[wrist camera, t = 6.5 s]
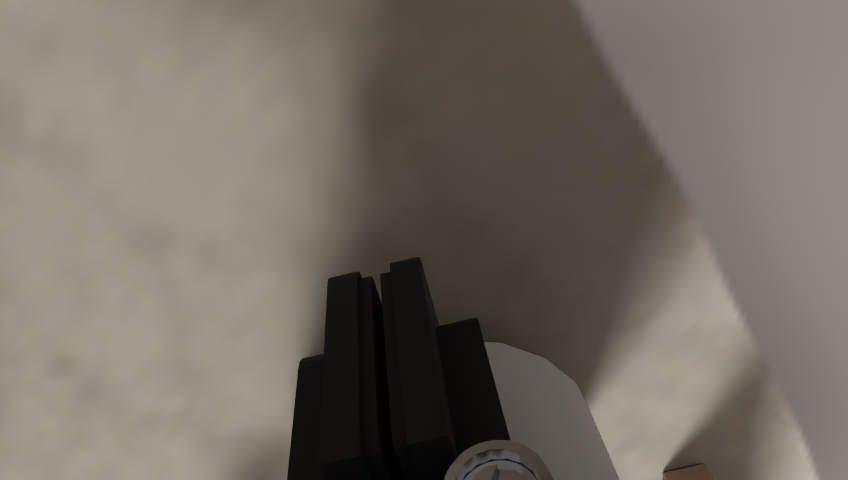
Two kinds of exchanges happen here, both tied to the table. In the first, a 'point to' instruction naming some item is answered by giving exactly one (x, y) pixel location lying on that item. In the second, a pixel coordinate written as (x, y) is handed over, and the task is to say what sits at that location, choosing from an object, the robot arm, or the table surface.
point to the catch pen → (688, 473)
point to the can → (548, 415)
